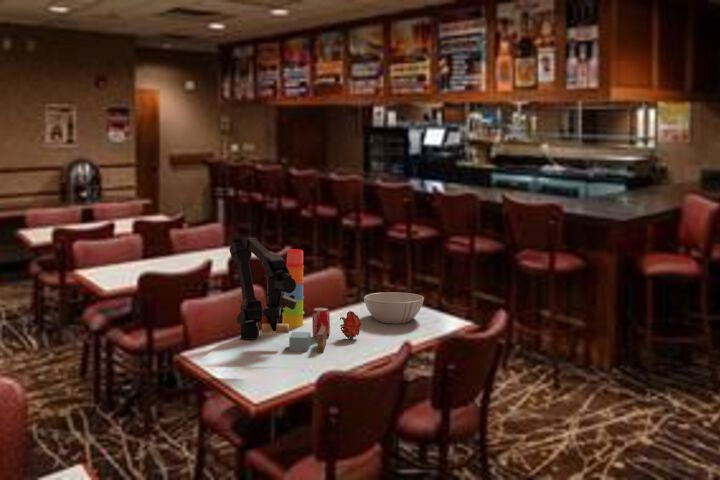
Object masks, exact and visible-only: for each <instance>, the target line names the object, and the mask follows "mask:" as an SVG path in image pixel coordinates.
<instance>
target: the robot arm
mask: <svg viewBox="0 0 720 480" xmlns="http://www.w3.org/2000/svg"><path fill="white" fill-rule="evenodd" d="M228 250H229V254H230V256H231V260H232V261H233V262H234V263H235V265H236V267H237V273H238V279H239V283H240V290H241V295H242V300H241V304H240V307H239V308H240V309H239V310H240V312H239V314H238V315H237V317H236V322H237V324H238V325H240V337H239V339H240V340H256V339H257V338H258V337H259V336H260V325H258V323H262V318H263V317H266V319H267V322H268V324H270V326H271V328H272V330H273V331H276V327H277V324H280V323H279V322H280V318H281V316H282V315H283V313H282V312H283V311H284V309H283V307H284V308H286V307H288V308H290V309H292V310H294V308H295V306H296V303H297V299H296V298H295V295H291V296H290V297H288V296H284V293H285V292H286V293H292V292H293V291H294V290H295V288H296V282H295V280H294V279H293V278H292V275H290V273H289V270H288V268H287V266H286V265H287V262H286V261H285V260H284V258H283V257H282V256H280V255H278V254H275V253H272V252H271V251H270V250H269V249H267V248H266V247H265V246H264V245H263V244H262V243H260V241H259V240H258V238H256V237H246V238H243V239H242V240H240V241H236V242H232V243H231V245H230V246H229V248H228ZM252 254H253V255H254V256H255V257H256V258H257V259H258V260H259V261H260V262H261V266H262V268H263V269H264V271H265V272H266V273H265V274H264V278H266V289H267V290H266V291H267V292H266V293H265V295H266V297H267V301H266V302H267V303H266V306H265V308H264V309H263V306H262V305H263V304H262V301H261V300H259V299H258V298H257V297H256V294H255V290H254V282H253V279H252V277H253V276H252V271H251V266H250V260H251V259H252Z"/></svg>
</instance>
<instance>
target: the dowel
mask: <svg viewBox="0 0 720 480" xmlns="http://www.w3.org/2000/svg"><path fill="white" fill-rule="evenodd" d="M289 332H290V328H289V324H282V323H279V324H277V327H276V331H273V330H272V328H271V326H270V323H262V324H261V334H289Z"/></svg>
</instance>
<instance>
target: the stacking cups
mask: <svg viewBox="0 0 720 480" xmlns="http://www.w3.org/2000/svg"><path fill="white" fill-rule="evenodd" d="M286 254H287V255H286V266H287V268H288V270H289V273H290V275H292V278H293V279H294V280H295V282H296V288H295V290H294V291H293V292H292V293H286V292H284V296H288V297H290V296H291V295H295V298H296V299H297V303H296V306H295V308H294V310H292V309H290V308H288V307H286V308H284V307H282V309H284V311H283V312H282V322H281V324H289V329H291V328H292V329H295V328H301V327H303V325H304V314H305V311H304V299H305V296H304V283H305V281H304V268H305V265H304V251H303V249H297V248H294V249H293V248H290V249H287V253H286Z"/></svg>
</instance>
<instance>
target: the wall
mask: <svg viewBox="0 0 720 480" xmlns="http://www.w3.org/2000/svg"><path fill="white" fill-rule="evenodd" d="M326 346H327V338H326V326H321V328H320V330H319V332H318V339H317V353H319V354H323V353H324V351H325V349H326Z"/></svg>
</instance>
